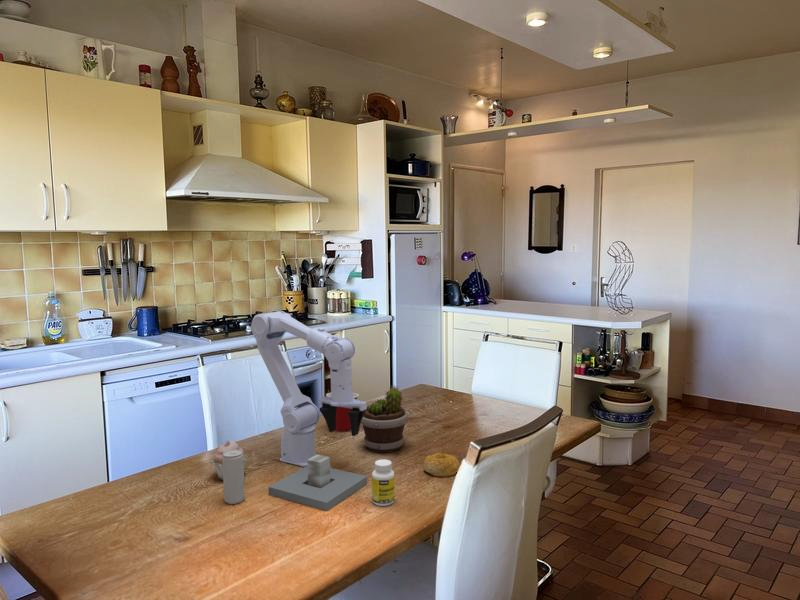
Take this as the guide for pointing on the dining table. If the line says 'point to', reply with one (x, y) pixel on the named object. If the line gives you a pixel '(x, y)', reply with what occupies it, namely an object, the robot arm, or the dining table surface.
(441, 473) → the bagel
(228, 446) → the cupcake
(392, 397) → the flowerpot
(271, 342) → the robot arm
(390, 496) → the supplement bottle
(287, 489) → the socket board
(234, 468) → the beverage can
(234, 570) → the dining table surface
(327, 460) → the peg
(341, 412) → the plastic cup
